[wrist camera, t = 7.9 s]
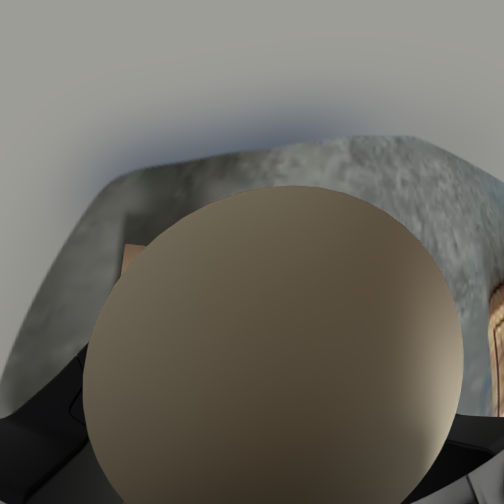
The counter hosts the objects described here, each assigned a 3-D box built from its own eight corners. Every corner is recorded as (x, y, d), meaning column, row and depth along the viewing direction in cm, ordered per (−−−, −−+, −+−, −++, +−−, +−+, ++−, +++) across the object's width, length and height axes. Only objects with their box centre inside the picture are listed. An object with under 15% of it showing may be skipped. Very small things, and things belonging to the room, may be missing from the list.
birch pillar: (274, 322, 16) (490, 310, 4) (228, 399, 15) (352, 568, 2) (196, 273, 16) (245, 114, 3) (147, 351, 14) (25, 459, 2)
